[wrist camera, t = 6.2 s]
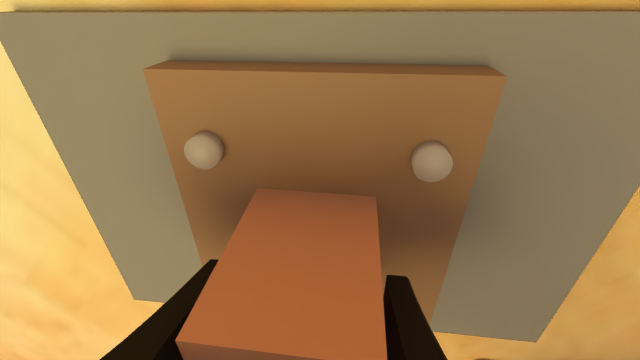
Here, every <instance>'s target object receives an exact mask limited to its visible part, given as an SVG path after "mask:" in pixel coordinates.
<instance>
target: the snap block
mask: <svg viewBox="0 0 640 360" xmlns="http://www.w3.org/2000/svg"><path fill="white" fill-rule="evenodd" d="M175 341H176V344H177V346H178V348H179V350H180V353H181V355H182V357H183V360H387V349H386V334H385V319H384V304H383V290H382V275H381V260H380V245H379V231H378V216H377V201H376V197H372V196H359V195H345V194H331V193H318V192H304V191H291V190H277V189H263V188H257V190H256V192H255V194H254V195H253V197H252V199H251V201H250V203H249V205H248V207H247V208H246V210H245V212H244V214H243V216H242V218H241V220H240V221H239V223H238V225H237V227H236V229H235V231H234V233H233V234H232V236H231V238H230V240H229V242H228V244H227V246H226V247H225V249H224V251H223V253H222V255H221V257H220V258H219V260H218V262H217V264H216V266H215V268H214V270H213V271H212V273H211V275H210V277H209V279H208V281H207V283H206V284H205V286H204V288H203V290H202V292H201V294H200V296H199V297H198V299H197V301H196V303H195V305H194V307H193V309H192V310H191V312H190V314H189V316H188V318H187V320H186V322H185V323H184V325H183V327H182V329H181V331H180V333H179V334H178V336H177V338H176V340H175Z"/></svg>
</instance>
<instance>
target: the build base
mask: <svg viewBox="0 0 640 360" xmlns="http://www.w3.org/2000/svg"><path fill="white" fill-rule="evenodd" d="M0 41H1V43H2V45H3V47H4V49H5V51H6V53H7V55H8V57H9V59H10V60H11V62H12V64H13V66H14V68H15V70H16V72H17V74H18V76H19V78H20V80H21V82H22V84H23V86H24V87H25V89H26V91H27V93H28V95H29V97H30V99H31V101H32V103H33V105H34V107H35V109H36V111H37V113H38V115H39V116H40V118H41V120H42V122H43V124H44V126H45V128H46V130H47V132H48V134H49V136H50V138H51V140H52V142H53V144H54V145H55V147H56V149H57V151H58V153H59V155H60V157H61V159H62V161H63V163H64V165H65V167H66V169H67V171H68V172H69V174H70V176H71V178H72V180H73V182H74V184H75V186H76V188H77V190H78V192H79V194H80V196H81V198H82V200H83V201H84V203H85V205H86V207H87V209H88V211H89V213H90V215H91V217H92V219H93V221H94V223H95V225H96V227H97V228H98V230H99V232H100V234H101V236H102V238H103V240H104V242H105V244H106V246H107V248H108V250H109V252H110V254H111V256H112V257H113V259H114V261H115V263H116V265H117V267H118V269H119V271H120V273H121V275H122V277H123V279H124V281H125V283H126V285H127V286H128V288H129V290H130V292H131V294H132V296H133V298H134V300H143V301H153V302H162V303H166V302H167V301H168V300H169V299H170V298H171V297H172V296H173V295H174V294H175V293H176V292H177V291H178V290H179V289H180V288H181V287H182V286H183V285H184V284H186V283H187V282H188V281H189V280H190V279H191V278H192V277H193V276H194V275H195V274H196V273H197V272H198V271H199V270H200V269H201V268H202V267H203V266H204V265H205V264H206V263H207V262H208V261H209V260H210V259H217V260H219V258H220V257H221V255H222V253H223V251H224V249H225V247H226V246H227V244H228V242H229V240H230V238H231V236H232V234H233V233H234V231H235V229H236V227H237V225H238V223H239V221H240V220H241V218H242V216H243V214H244V212H245V210H246V208H247V207H248V205H249V203H250V201H251V199H252V197H253V195H254V194H255V192H256V190H257V188H263V189H277V190H291V191H304V192H318V193H331V194H345V195H359V196H372V197H376V201H377V216H378V231H379V245H380V260H381V275H382V290H383V295H384V289H385V283H386V277H387V275H397V276H406V277H407V278H408V279H409V280H410V283H411V286H412V288H413V291H414V293H415V296H416V298H417V300H418V303H419V305H420V307H421V309H422V311H423V313H424V316H425V318H426V320H427V322H428V324H429V326H430V328H431V330H432V331H434V332H443V333H453V334H462V335H471V336H481V337H490V338H500V339H509V340H518V341H528V342H537V340H538V339H539V337H540V336H541V334H542V333H543V331H544V330H545V328H546V327H547V325H548V324H549V322H550V321H551V319H552V318H553V316H554V315H555V313H556V312H557V310H558V309H559V307H560V306H561V304H562V302H563V301H564V299H565V298H566V296H567V295H568V293H569V292H570V290H571V289H572V287H573V286H574V284H575V283H576V281H577V280H578V278H579V277H580V275H581V274H582V272H583V271H584V269H585V268H586V266H587V264H588V263H589V261H590V260H591V258H592V257H593V255H594V254H595V252H596V251H597V249H598V248H599V246H600V245H601V243H602V242H603V240H604V239H605V237H606V236H607V234H608V233H609V231H610V230H611V228H612V227H613V225H614V223H615V222H616V220H617V219H618V217H619V216H620V214H621V213H622V211H623V210H624V208H625V207H626V205H627V204H628V202H629V201H630V199H631V198H632V196H633V195H634V193H635V192H636V190H637V189H638V187H639V186H640V10H613V11H11V12H0Z"/></svg>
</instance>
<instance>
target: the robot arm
mask: <svg viewBox="0 0 640 360" xmlns="http://www.w3.org/2000/svg"><path fill="white" fill-rule="evenodd" d="M217 262H218V260H217V259H210V260H209V261H208V262H207V263H206V264H205V265H204V266H203V267H202V268H201V269H200V270H199V271H198V272H197V273H196V274H195V275H194V276H193V277H192V278H191V279H190V280H189V281H188V282H187V283H186V284H184V285H183V286H182V287H181V288H180V289H179V290H178V291H177V292H176V293H175V294H174V295H173V296H172V297H171V298H170V299H169V300H168V301H167V302H166V303H165V304H164V305H162V306H161V307H160V308H159V309H158V310H157V311H156V312H155V313H154V314H153V315H152V316H151V317H150V318H148V319H147V320H146V321H145V322H144V323H143V324H142V325H140V326H139V327H138V328H137V329H136V330H135V331H134V332H132V333H131V334H130V335H129V336H128V337H127V338H126V339H124V340H123V341H122V342H121V343H120V344H118V345H117V346H116V347H115V348H114V349H112V350H111V351H110V352H109V353H107V354H106V355H105V356H104V357H102V358H101V359H100V360H183V357H182V355H181V353H180V350H179V348H178V346H177V344H176V341H175V340H176V338H177V336H178V334H179V333H180V331H181V329H182V327H183V325H184V323H185V322H186V320H187V318H188V316H189V314H190V312H191V310H192V309H193V307H194V305H195V303H196V301H197V299H198V297H199V296H200V294H201V292H202V290H203V288H204V286H205V284H206V283H207V281H208V279H209V277H210V275H211V273H212V271H213V270H214V268H215V266H216V264H217ZM383 304H384V319H385V334H386V349H387V360H447V358H446V356H445V354H444V353H443V351H442V349H441V347H440V345H439V343H438V341H437V339H436V337H435V336H434V334H433V332H432V330H431V328H430V326H429V324H428V322H427V320H426V318H425V316H424V313H423V311H422V309H421V307H420V305H419V303H418V300H417V298H416V296H415V293H414V291H413V288H412V286H411V283H410V280H409V279H408V278H407V277H406V276H397V275H387V277H386V283H385V289H384V295H383Z"/></svg>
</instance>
